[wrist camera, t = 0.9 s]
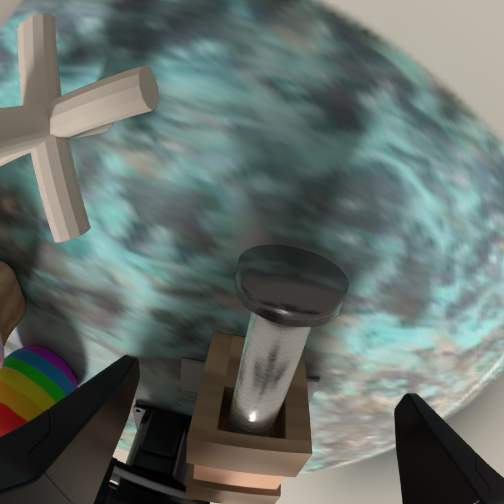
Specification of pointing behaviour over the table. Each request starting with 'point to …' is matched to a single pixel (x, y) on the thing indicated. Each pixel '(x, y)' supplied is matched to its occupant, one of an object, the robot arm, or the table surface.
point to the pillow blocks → (240, 445)
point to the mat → (194, 372)
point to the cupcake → (9, 305)
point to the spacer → (233, 476)
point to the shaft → (278, 326)
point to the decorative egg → (31, 385)
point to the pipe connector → (64, 121)
